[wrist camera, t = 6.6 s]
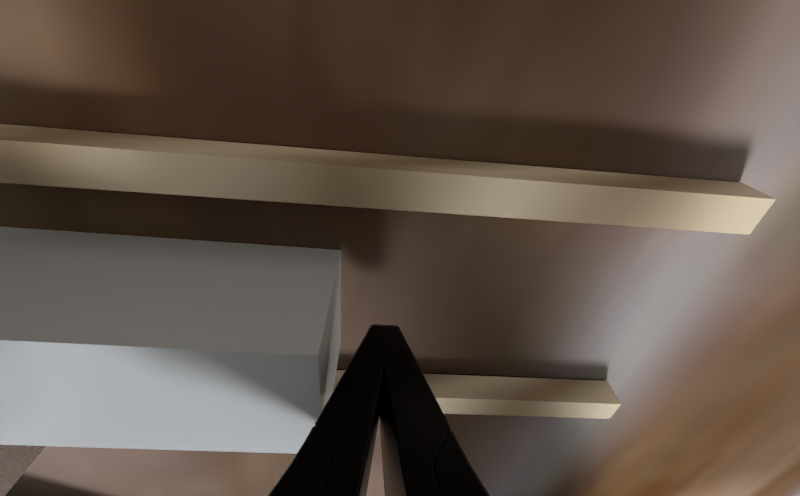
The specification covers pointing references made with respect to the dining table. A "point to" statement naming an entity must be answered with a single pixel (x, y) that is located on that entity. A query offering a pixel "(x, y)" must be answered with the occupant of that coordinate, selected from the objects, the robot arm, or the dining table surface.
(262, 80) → the dining table surface
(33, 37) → the dining table surface
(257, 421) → the gray rectangular bar
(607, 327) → the dining table surface
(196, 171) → the guide rails
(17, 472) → the slotted u bracket
